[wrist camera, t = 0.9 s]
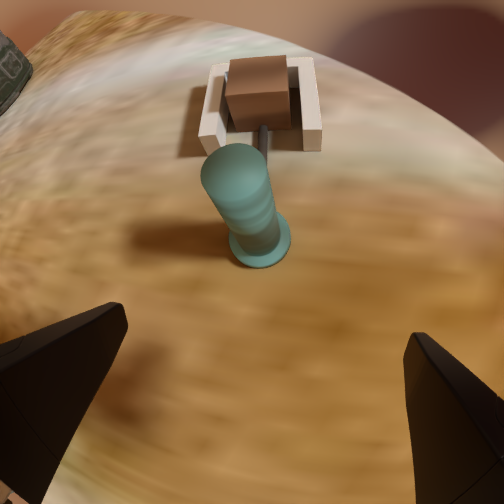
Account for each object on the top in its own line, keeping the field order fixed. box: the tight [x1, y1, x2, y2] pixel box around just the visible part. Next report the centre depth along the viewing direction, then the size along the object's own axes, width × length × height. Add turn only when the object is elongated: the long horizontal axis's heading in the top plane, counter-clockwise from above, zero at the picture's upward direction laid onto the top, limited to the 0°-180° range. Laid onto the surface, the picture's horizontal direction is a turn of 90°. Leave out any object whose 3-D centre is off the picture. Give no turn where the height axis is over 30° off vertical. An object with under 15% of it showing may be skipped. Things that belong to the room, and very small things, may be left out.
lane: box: [198, 57, 322, 156], centre depth 26 cm, size 10×10×3 cm
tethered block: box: [201, 55, 291, 269], centre depth 21 cm, size 18×5×10 cm, turn 178°
